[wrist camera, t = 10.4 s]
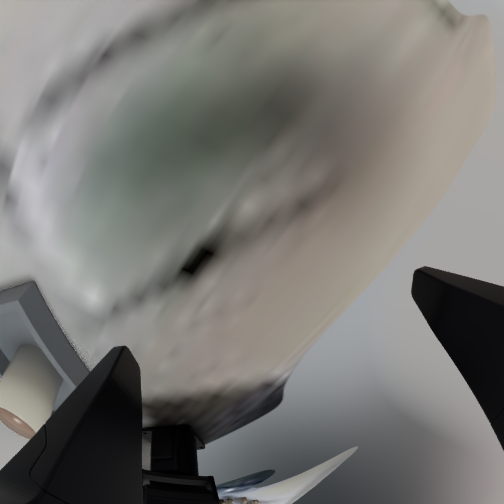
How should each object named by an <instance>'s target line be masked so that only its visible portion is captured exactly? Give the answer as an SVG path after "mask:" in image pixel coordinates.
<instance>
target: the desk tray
mask: <svg viewBox="0 0 504 504" xmlns="http://www.w3.org/2000/svg"><path fill="white" fill-rule="evenodd" d="M23 344H30V345H33V346H36V347H38V348H40V349H42V351H43V352H44V354H45V355H46V357H47V358H48V359H49V361H50V362H51V363H52V365H53V366H54V367H55V369H56V370H57V371H58V373H59V374H60V375H61V376H62V378H63V379H64V380H63V382H62V385H61V388H60V390H59V393H58V396H57V399H56V402H55V404H54V407H53V410H52V413H51V415H52V414H53V413H54V412H55V411H56V410H57V408H58V407H59V406H60V405H61V404H62V403H63V402H64V400H65V399H66V398H67V397H68V396H69V395H70V394H71V393H72V392H73V390H74V389H75V388H76V387H77V386H78V385H79V384H80V383H81V382H82V381H83V379H84V378H85V377H86V376H87V375H88V374H89V373H90V372H89V371H88V369H87V368H86V367H85V365H84V364H83V362H82V361H81V360H80V358H79V357H78V355H77V354H76V352H75V351H74V349H73V348H72V346H71V345H70V343H69V342H68V340H67V339H66V337H65V335H64V334H63V332H62V331H61V329H60V327H59V326H58V324H57V322H56V321H55V319H54V317H53V316H52V314H51V312H50V310H49V308H48V307H47V305H46V303H45V301H44V299H43V297H42V295H41V293H40V292H39V290H38V288H37V286H36V284H35V282H34V281H33V282H30V283H26V284H23V285H20V286H17V287H14V288H10V289H7V290H4V291H1V292H0V378H2V376H3V374H4V372H5V370H6V369H7V367H8V365H9V363H10V361H11V360H12V358H13V356H14V354H15V353H16V351H17V349H18V348H19V346H21V345H23Z"/></svg>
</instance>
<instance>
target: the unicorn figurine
mask: <svg viewBox="0 0 504 504" xmlns="http://www.w3.org/2000/svg"><path fill="white" fill-rule="evenodd" d="M241 501H242V503H241V504H247V499H246V498H243V499H242V500H241ZM257 503H258V501H257V500H256V501H251V504H257ZM222 504H233V503H232V499H229V500H225V502H224V503H222Z"/></svg>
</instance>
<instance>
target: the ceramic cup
mask: <svg viewBox="0 0 504 504" xmlns="http://www.w3.org/2000/svg"><path fill="white" fill-rule="evenodd" d="M63 380H64V379H63V378H62V376H61V375H60V374H59V373H58V371H57V370H56V369H55V367H54V366H53V365H52V363H51V362H50V361H49V359H48V358H47V357H46V355H45V354H44V352H43V351H42V349H40V348H38V347H36V346H33V345H30V344H23V345H21V346H19V348H18V349H17V351H16V353H15V354H14V356H13V358H12V360H11V361H10V363H9V365H8V367H7V369H6V370H5V372H4V374H3V376H2V378H1V380H0V422H1V423H2V424H3V425H5V426H6V427H7V428H8V429H10V430H11V431H13V432H14V433H16V434H17V435H19V436H21V437H23V438H25V439H27V440H30V439H31V438H32V437H33V436H34V435H35V434H36V433H37V431H38V430H39V429H40V428H41V427H42V426H43V424H45V422H46V421H47V420H48V419H49V418H50V416H51V413H52V410H53V407H54V404H55V402H56V399H57V396H58V393H59V390H60V388H61V385H62V382H63Z"/></svg>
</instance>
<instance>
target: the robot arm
mask: <svg viewBox="0 0 504 504" xmlns="http://www.w3.org/2000/svg"><path fill="white" fill-rule="evenodd" d="M411 293H412V297H413V299H414V301H415V302H416V304H417V306H418V307H419V309H420V311H421V312H422V314H423V316H424V318H425V319H426V321H427V323H428V324H429V326H430V328H431V329H432V331H433V333H434V334H435V336H436V337H437V338H438V340H439V341H440V343H441V344H442V346H443V347H444V349H445V350H446V351H447V353H448V354H449V356H450V357H451V359H452V360H453V362H454V364H455V365H456V366H457V368H458V370H459V371H460V373H461V374H462V376H463V377H464V379H465V381H466V382H467V384H468V385H469V387H470V389H471V390H472V392H473V394H474V395H475V397H476V399H477V401H478V402H479V404H480V406H481V407H482V409H483V411H484V413H485V415H486V417H487V418H488V420H489V422H490V423H491V426H492V428H493V430H494V432H495V434H496V435H497V438H498V440H499V442H500V444H501V446H502V448H503V450H504V287H503V286H499V285H496V284H492V283H488V282H485V281H481V280H477V279H473V278H469V277H465V276H462V275H458V274H454V273H450V272H446V271H442V270H439V269H434V268H431V267H426V266H424V267H421V268H419V269H416V270H415V271H414V274H413V282H412V290H411ZM142 434H143V435H144V436H145V437H146V438H147V439H148V440H149V441H150V442H151V464H150V471H149V470H144V469H142ZM204 448H205V445H204V443H203V442H202V441H201V440H200V438H199V437H198V436H197V435H196V433H195V432H194V431H193V430H192V428H191V427H190V426H188V425H183V426H173V427H162V428H149V429H142V397H141V376H140V367H139V365H138V363H137V361H136V360H135V358H134V356H133V355H132V353H131V351H130V350H129V348H128V347H127V346H117V347H114V348H112V349H111V350H110V351H109V352H108V354H107V355H106V356H105V357H104V358H103V359H102V360H101V361H100V362H99V363H98V364H97V365H96V366H95V367H94V369H93V370H92V371H91V372H90V373H89V374H88V375H87V376H86V377H85V378H84V379H83V381H82V382H81V383H80V384H79V385H78V386H77V387H76V388H75V389H74V390H73V392H72V393H71V394H70V395H69V396H68V397H67V398H66V399H65V400H64V402H63V403H62V404H61V405H60V406H59V407H58V408H57V410H56V411H55V412H54V413H53V414H52V415H51V416H50V418H49V419H48V420H47V421H46V422H45V424H43V426H42V427H41V428H40V429H39V430H38V431H37V433H36V434H35V435H34V436H33V437H32V438H31V439H30V440H29V442H28V443H27V444H26V445H25V446H24V447H23V448H22V449H21V450H20V451H19V452H18V453H17V454H16V455H15V456H14V457H13V458H12V459H11V460H10V461H9V462H8V463H7V464H6V465H5V466H4V467H3V468H2V469H1V470H0V504H220V501H219V497H218V493H217V489H216V485H215V481H214V477H213V476H199V474H198V461H197V450H199V449H204ZM144 484H146V485H145V486H144Z"/></svg>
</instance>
